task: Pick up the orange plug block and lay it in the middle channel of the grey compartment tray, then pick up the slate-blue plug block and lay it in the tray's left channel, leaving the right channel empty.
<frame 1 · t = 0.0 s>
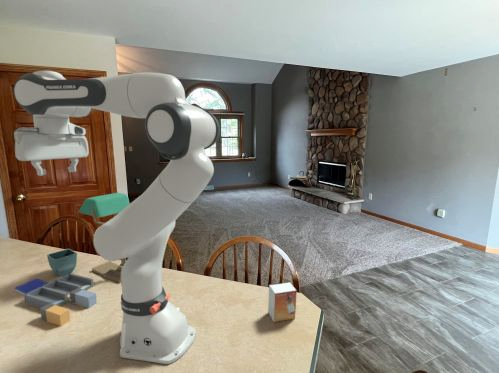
hand: (57, 173, 84), 48 cm above the kitchen counter, fingers open, 8 cm apart
slate-blue plug: (83, 303, 97), on the kitchen counter
orange plug: (56, 320, 88), on the kitchen counter
small box: (281, 316, 92), on the kitchen counter
flower pot: (64, 273, 119), on the kitchen counter
banker's lamp: (113, 273, 120), on the kitchen counter
hard drive: (35, 290, 106), on the kitchen counter
grey compartment tray: (61, 294, 103), on the kitchen counter
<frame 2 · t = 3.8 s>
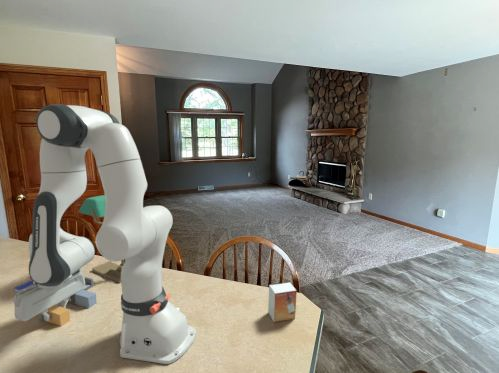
hand: (55, 315, 88), 2 cm above the kitchen counter, fingers closed on orange plug, 3 cm apart
orange plug: (56, 319, 88), on the kitchen counter, touching gripper
everything else where it was.
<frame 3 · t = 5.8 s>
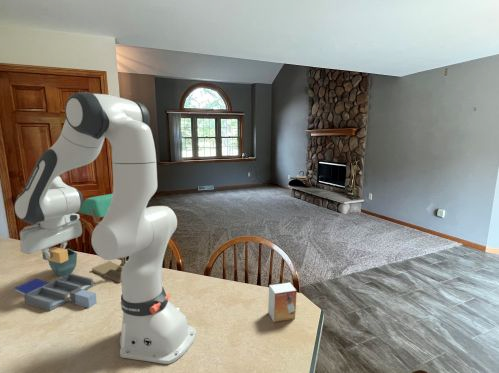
hand: (55, 255, 100), 16 cm above the kitchen counter, fingers closed on orange plug, 3 cm apart
orange plug: (55, 259, 100), point 14 cm above the kitchen counter, touching gripper
everything else where it was.
when the fingers open (5 cm above the kitchen counter, at t = 8.1 s): orange plug drops 2 cm, resting on grey compartment tray.
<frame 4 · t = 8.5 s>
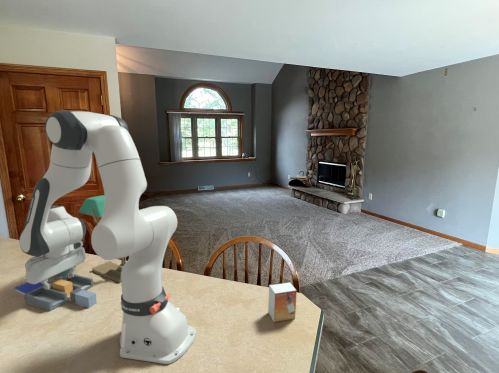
hand: (60, 283, 102), 5 cm above the kitchen counter, fingers open, 7 cm apart
orange plug: (61, 291, 103), point 1 cm above the kitchen counter, touching grey compartment tray
everything else where it was.
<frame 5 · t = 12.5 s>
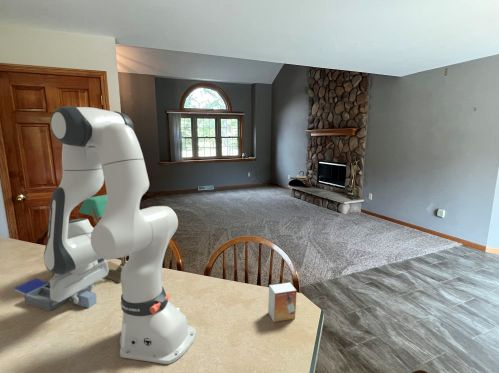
hand: (83, 298, 97), 2 cm above the kitchen counter, fingers closed on slate-blue plug, 3 cm apart
slate-blue plug: (83, 302, 97), on the kitchen counter, touching gripper
everything else where it was.
when the fingers open (5 cm above the kitchen counter, at t = 16.5 s): slate-blue plug drops 2 cm, resting on grey compartment tray.
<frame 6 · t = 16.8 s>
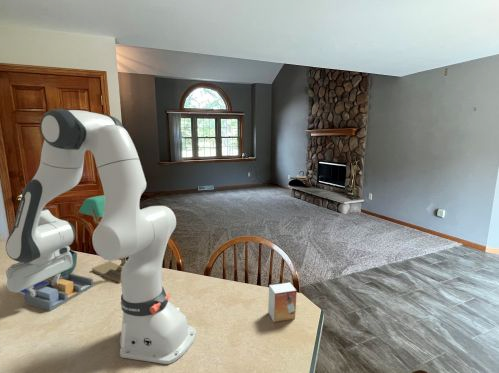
hand: (45, 290, 97), 5 cm above the kitchen counter, fingers open, 6 cm apart
slate-blue plug: (46, 299, 98), point 1 cm above the kitchen counter, touching grey compartment tray
orange plug: (61, 291, 103), point 1 cm above the kitchen counter, tilted 5°, touching grey compartment tray, gripper
everything else where it was.
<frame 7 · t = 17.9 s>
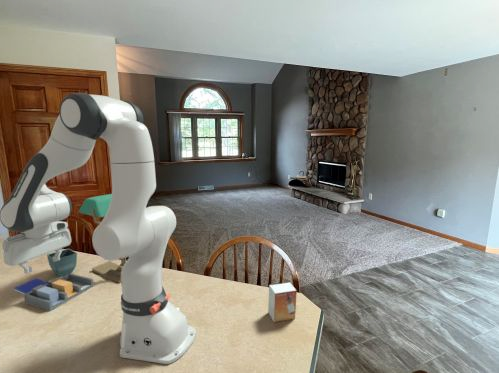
hand: (43, 266, 95), 14 cm above the kitchen counter, fingers open, 8 cm apart
orange plug: (60, 291, 103), point 1 cm above the kitchen counter, touching grey compartment tray
everything else where it was.
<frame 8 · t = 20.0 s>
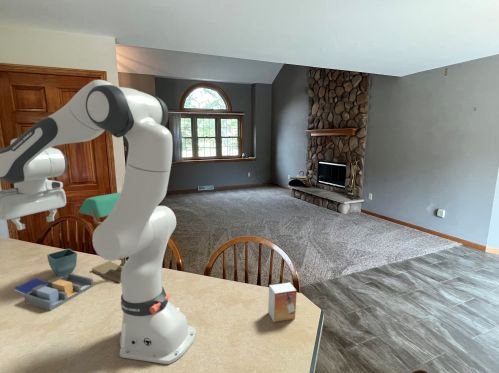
hand: (36, 225, 93), 29 cm above the kitchen counter, fingers open, 8 cm apart
nothing on the kitchen counter moved.
at the end: orange plug inside the target area on the grey compartment tray (0.1 cm from its centre), point 1.0 cm above the grey compartment tray's base; slate-blue plug inside the target area on the grey compartment tray (0.0 cm from its centre), point 1.0 cm above the grey compartment tray's base; the gripper is holding nothing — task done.
